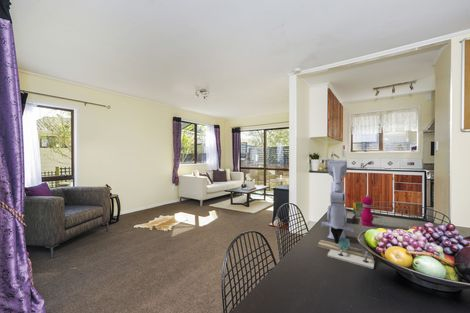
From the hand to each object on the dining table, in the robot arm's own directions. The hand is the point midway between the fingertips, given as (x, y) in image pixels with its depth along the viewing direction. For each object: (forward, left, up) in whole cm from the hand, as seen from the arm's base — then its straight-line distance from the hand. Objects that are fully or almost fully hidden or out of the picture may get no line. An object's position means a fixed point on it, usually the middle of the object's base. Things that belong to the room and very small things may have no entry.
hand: (336, 243), depth 107 cm
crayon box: (-70, +2, -3) cm, 70 cm away
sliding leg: (+3, +3, -2) cm, 5 cm away
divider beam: (+2, +4, -3) cm, 5 cm away
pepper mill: (-50, +9, -3) cm, 51 cm away
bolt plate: (+7, +7, -3) cm, 11 cm away
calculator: (-54, -4, -4) cm, 54 cm away
